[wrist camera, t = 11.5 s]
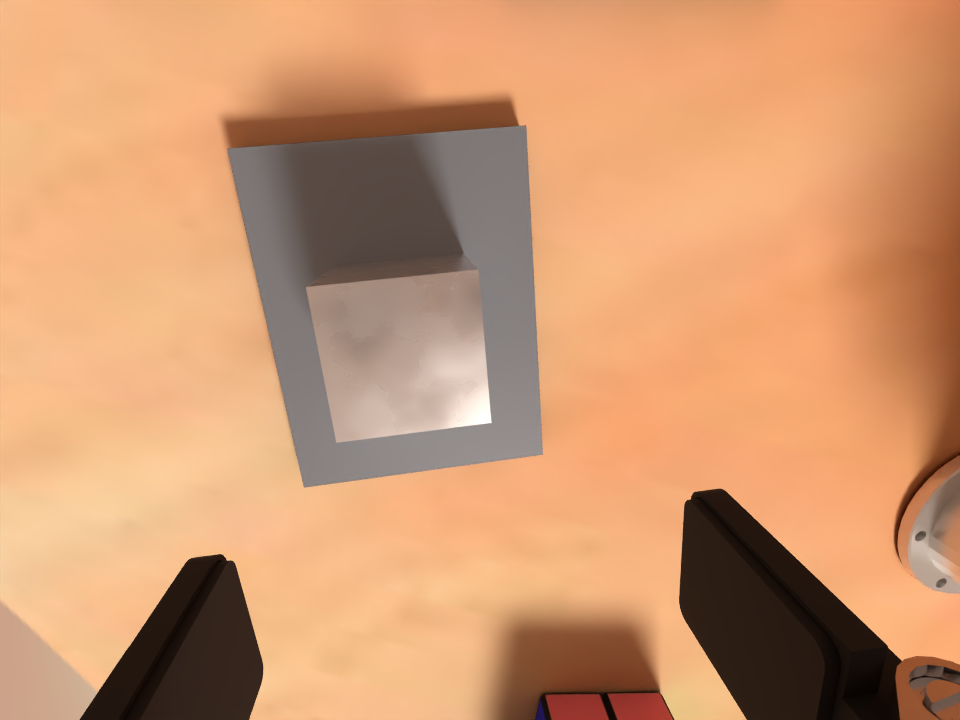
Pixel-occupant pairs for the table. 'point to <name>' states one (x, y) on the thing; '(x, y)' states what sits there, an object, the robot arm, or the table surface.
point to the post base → (391, 236)
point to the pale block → (401, 346)
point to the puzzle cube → (603, 707)
